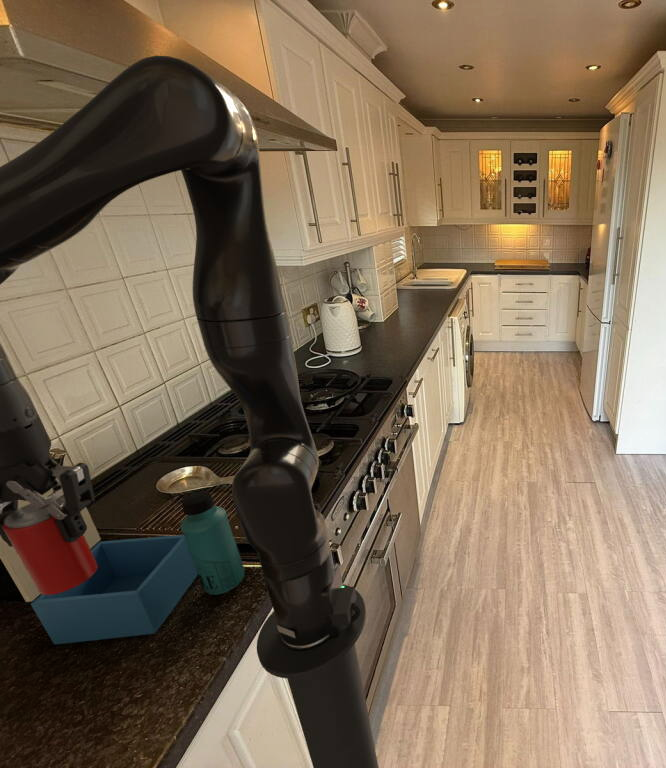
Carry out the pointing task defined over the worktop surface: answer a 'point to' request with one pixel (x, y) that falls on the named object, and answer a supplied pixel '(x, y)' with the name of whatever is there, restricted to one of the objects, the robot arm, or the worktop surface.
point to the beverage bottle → (211, 544)
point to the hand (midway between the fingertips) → (49, 539)
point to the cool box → (121, 591)
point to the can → (48, 550)
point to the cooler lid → (16, 565)
